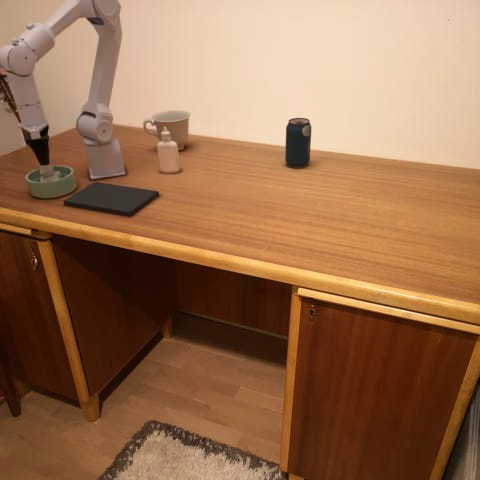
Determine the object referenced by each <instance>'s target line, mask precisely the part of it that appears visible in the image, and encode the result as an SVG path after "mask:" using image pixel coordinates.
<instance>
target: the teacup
mask: <svg viewBox="0 0 480 480" xmlns="http://www.w3.org/2000/svg"><path fill="white" fill-rule="evenodd" d="M191 116H192V115H191V113H190V112H189V111H186V110H178V109H177V110H165V111H164V110H163V111H160V112H156V113H154V114H153V115H152V116H151V118H145V119H144V120H143V122H142V128H143V130H144V132H146V133H147V134H148V135H151V136H155V137H156V138H157V139H158V140H159V142H161V141H162V137H161V133H162V132H163V127H166V129H167V131H168V132H170V137H171V141H174V142H176V143H177V146H178V152H179V151H182V150H184V149H185V146H184V145H185V144H186V143H187V142H188V140H189V128H190V127H189V125H190V124H189V123H190V118H191ZM148 123H150V125H151V127H154V126H155V129H156V132H154V131H151V130H149V128H148V127H147V124H148Z"/></svg>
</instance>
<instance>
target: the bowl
mask: <svg viewBox="0 0 480 480" xmlns="http://www.w3.org/2000/svg"><path fill="white" fill-rule="evenodd" d="M50 166H51V167H52V168H53V170H54V172H55V171H59V172H60V173H61V179H58V180H54V181H48V182H40V178H41V177H42V175H41V174H40V169H41V167H39V168H36V169H34V170H32V171H30V172H28V173H27V174H26V175H25V182H26V185H27V188H28V191H29V194H30V195H31V196H32V197H35V198H38V199H44V200H45V199H46V200H47V199H55V198H56V199H57V198H61V197H64V196H67V195H69V194H71V193H73V192H74V191H75V190H76V189H77V187H78V183H77V180H76V175H75V173H74V169H73V168H72V167H70V166H67V165H50Z"/></svg>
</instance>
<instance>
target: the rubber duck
mask: <svg viewBox="0 0 480 480" xmlns="http://www.w3.org/2000/svg"><path fill="white" fill-rule="evenodd" d="M51 166H52V165H51V164H49V165H44V166H41V165H40V168H41V169H40V174H41V175H42V177H41V178H40V182H48V181H54V180H58V179H61V173H60V172H59V171H55V172H54V170H53V168H52V167H51Z"/></svg>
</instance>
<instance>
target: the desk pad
mask: <svg viewBox="0 0 480 480" xmlns="http://www.w3.org/2000/svg"><path fill="white" fill-rule="evenodd" d="M159 196H160V191H159V190H155V189H147V188H142V187H141V188H140V187H133V186H128V185H127V186H126V185H120V184H113V183H107V182H101V181H94V182H92V183H90V184H89V185H87V186H85V187H84V188H82V189H80V190H79V191H77V192H76V193H75V192H74V193H73V194H71V195H70V196H68V197H67V198H65V199H64V200H63V205H64V206H67V207H68V206H69V207H74V208H79V209H85V210H91V211H95V212H103V213H108V214H112V215H113V214H114V215H120V216H126V217H130V218H131V217H132V216H134V215H135V214H136V213H138V212H139V211H140V210H142V209H144V208H145V207H146V206H148V205H149V204H150V203H152V201H154V200H155V199H157V198H158V197H159Z"/></svg>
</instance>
